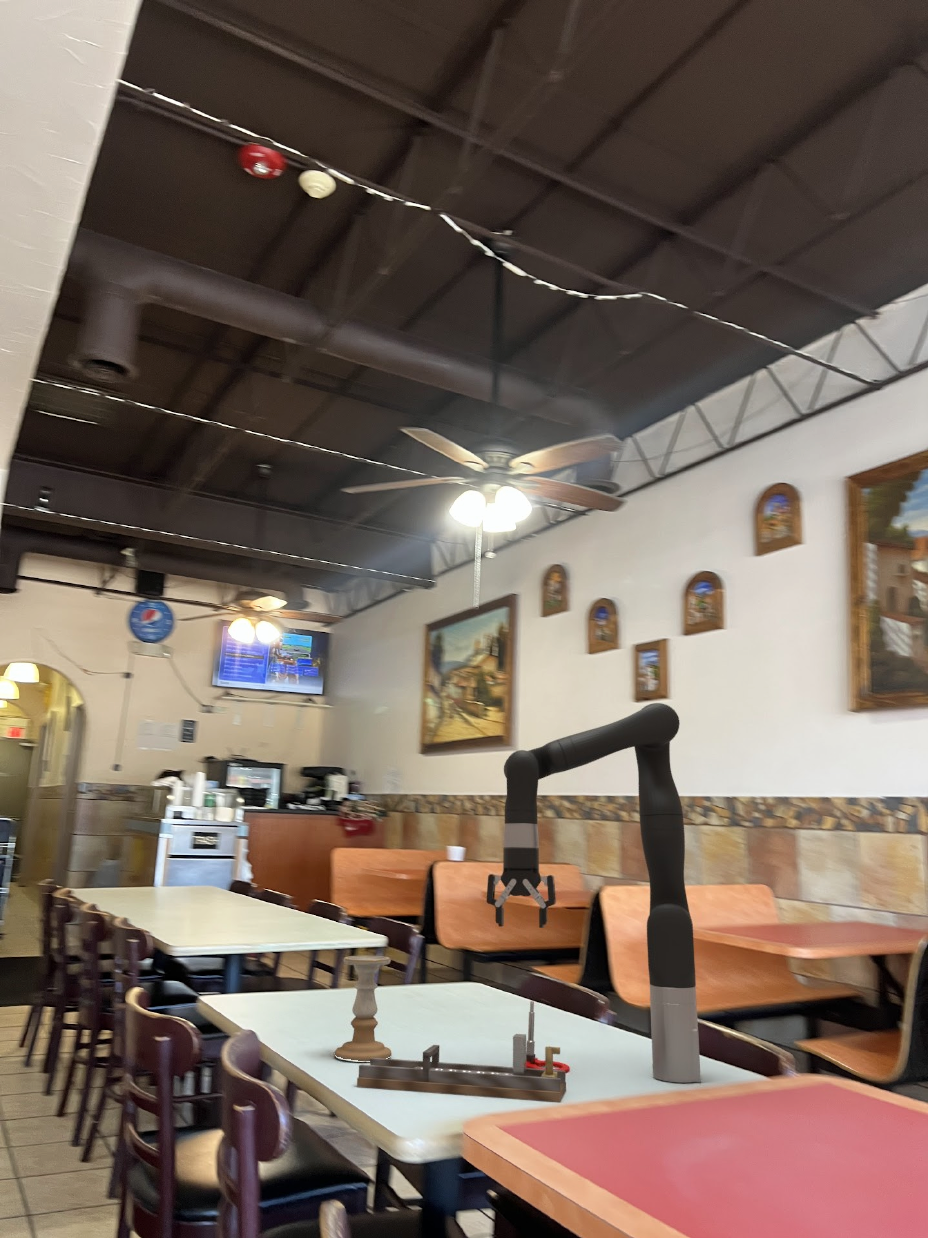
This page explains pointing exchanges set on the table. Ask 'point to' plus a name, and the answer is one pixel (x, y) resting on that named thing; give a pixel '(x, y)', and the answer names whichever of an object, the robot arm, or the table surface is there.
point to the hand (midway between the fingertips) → (521, 927)
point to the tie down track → (464, 1078)
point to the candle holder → (364, 1012)
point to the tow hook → (530, 1056)
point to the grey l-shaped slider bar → (518, 1058)
